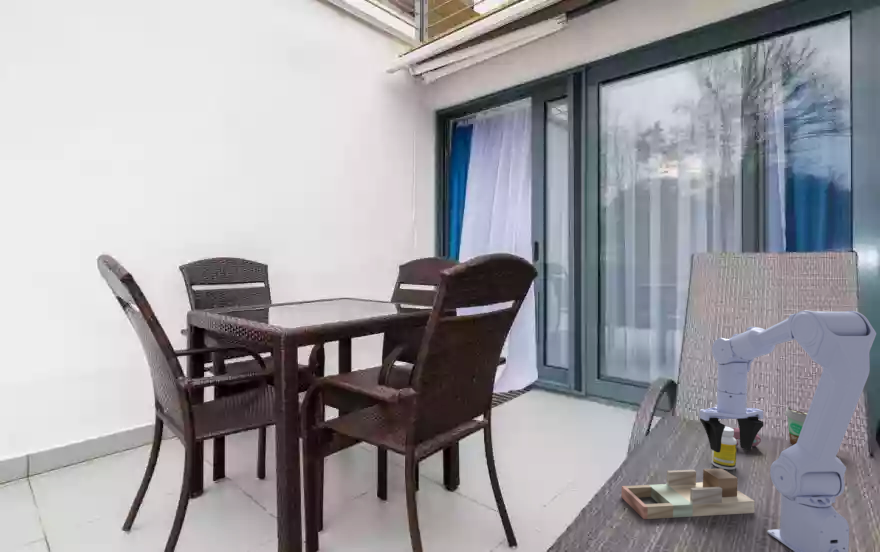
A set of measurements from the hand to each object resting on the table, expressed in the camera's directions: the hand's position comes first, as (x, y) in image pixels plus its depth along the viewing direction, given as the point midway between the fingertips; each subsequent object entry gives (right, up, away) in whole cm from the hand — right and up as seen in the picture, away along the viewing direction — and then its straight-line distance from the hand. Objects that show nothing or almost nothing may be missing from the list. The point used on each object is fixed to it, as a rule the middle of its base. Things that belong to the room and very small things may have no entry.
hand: (730, 450), depth 102 cm
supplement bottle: (+7, -10, +13) cm, 18 cm away
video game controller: (+20, -10, +26) cm, 34 cm away
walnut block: (-6, -7, -5) cm, 11 cm away
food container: (+39, -10, +26) cm, 48 cm away
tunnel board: (-14, -9, -6) cm, 18 cm away
